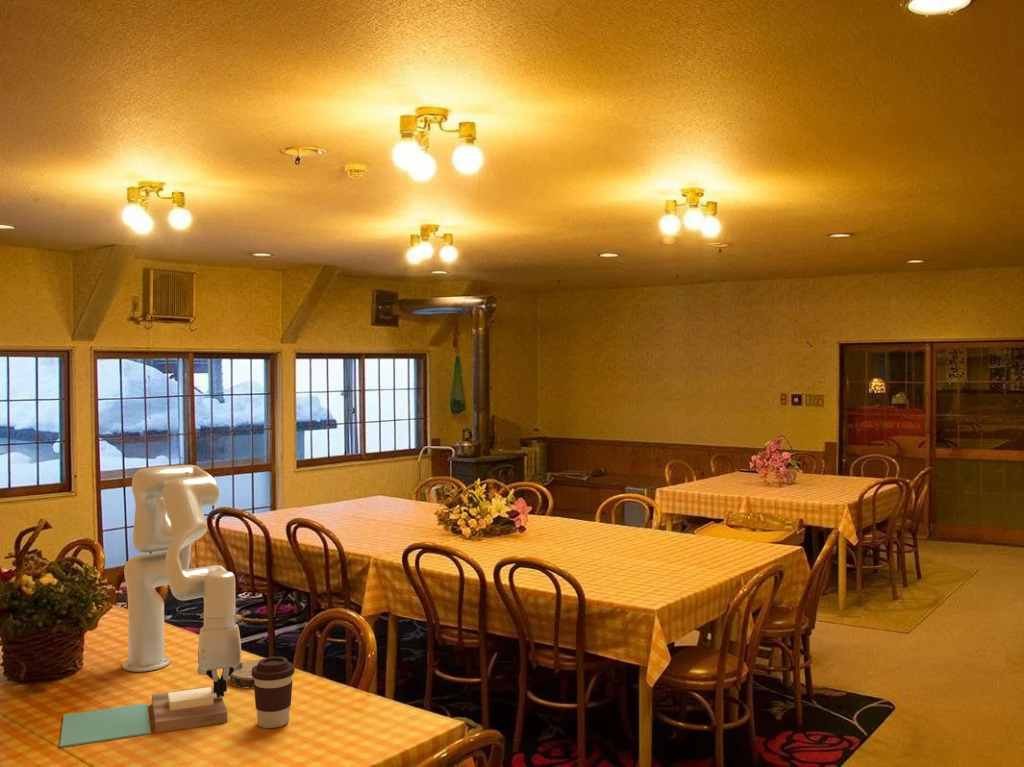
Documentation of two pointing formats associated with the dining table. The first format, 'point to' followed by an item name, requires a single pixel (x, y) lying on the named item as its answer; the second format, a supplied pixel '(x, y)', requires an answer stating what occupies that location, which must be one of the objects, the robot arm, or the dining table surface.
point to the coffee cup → (273, 691)
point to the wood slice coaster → (244, 674)
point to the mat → (105, 725)
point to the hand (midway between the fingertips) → (220, 695)
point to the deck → (186, 713)
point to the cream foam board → (190, 698)
